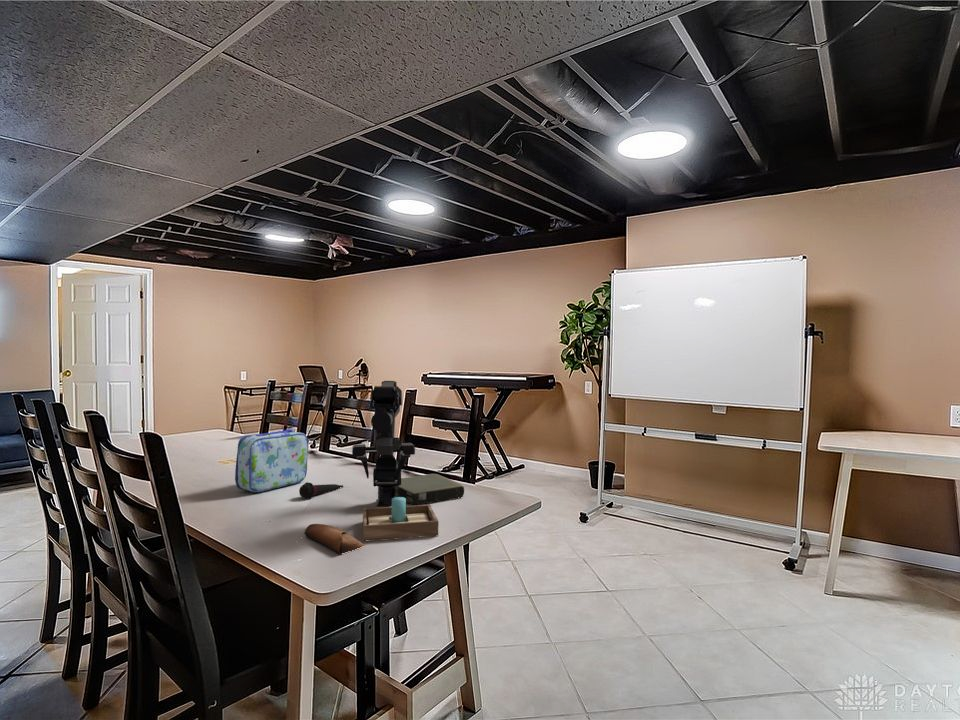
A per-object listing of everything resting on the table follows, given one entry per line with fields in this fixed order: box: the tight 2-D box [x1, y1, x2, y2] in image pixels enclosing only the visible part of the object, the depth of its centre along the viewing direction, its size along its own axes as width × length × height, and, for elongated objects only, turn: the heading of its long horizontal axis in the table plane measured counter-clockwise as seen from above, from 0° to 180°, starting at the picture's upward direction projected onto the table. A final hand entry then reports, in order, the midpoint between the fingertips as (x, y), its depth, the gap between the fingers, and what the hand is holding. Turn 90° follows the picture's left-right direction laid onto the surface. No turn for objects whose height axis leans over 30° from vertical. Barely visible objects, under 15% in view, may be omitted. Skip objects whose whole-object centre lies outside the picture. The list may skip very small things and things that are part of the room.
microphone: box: [298, 482, 344, 499], centre depth 178 cm, size 6×6×20 cm
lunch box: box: [234, 429, 309, 493], centre depth 186 cm, size 26×11×21 cm, turn 149°
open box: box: [362, 504, 440, 542], centre depth 142 cm, size 16×20×4 cm
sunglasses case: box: [304, 523, 365, 555], centre depth 131 cm, size 18×7×7 cm, turn 47°
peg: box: [391, 496, 407, 523], centre depth 144 cm, size 4×4×8 cm
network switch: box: [395, 473, 465, 506], centre depth 178 cm, size 23×24×5 cm
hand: (383, 477), depth 152 cm, fingers open, 9 cm apart
